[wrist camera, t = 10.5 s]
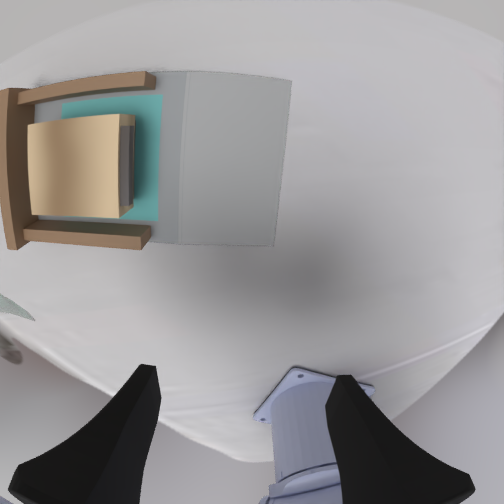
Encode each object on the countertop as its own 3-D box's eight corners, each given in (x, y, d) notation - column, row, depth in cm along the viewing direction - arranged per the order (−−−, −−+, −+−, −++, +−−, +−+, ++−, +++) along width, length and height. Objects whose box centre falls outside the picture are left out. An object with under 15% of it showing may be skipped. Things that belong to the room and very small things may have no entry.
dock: (289, 82, 16) (304, 68, 12) (272, 241, 20) (279, 273, 16) (39, 92, 15) (-1, 91, 11) (42, 226, 19) (7, 249, 15)
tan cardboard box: (150, 115, 15) (129, 113, 12) (148, 201, 17) (128, 218, 14) (59, 122, 15) (27, 124, 12) (61, 199, 17) (31, 214, 14)
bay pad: (163, 94, 15) (162, 94, 15) (158, 220, 18) (158, 221, 18) (63, 103, 14) (62, 103, 14) (64, 216, 17) (64, 216, 17)
